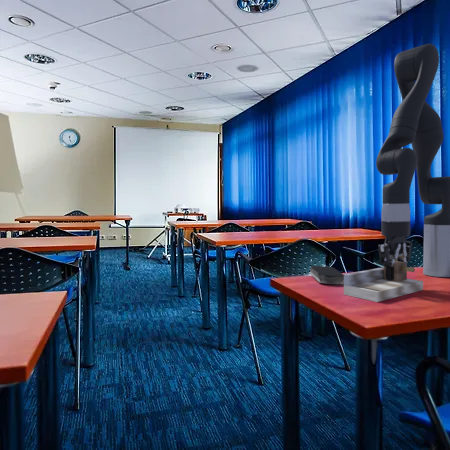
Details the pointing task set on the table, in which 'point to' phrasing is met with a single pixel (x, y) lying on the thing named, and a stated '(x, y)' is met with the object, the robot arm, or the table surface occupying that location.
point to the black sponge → (327, 275)
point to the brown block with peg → (399, 271)
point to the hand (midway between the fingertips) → (395, 278)
